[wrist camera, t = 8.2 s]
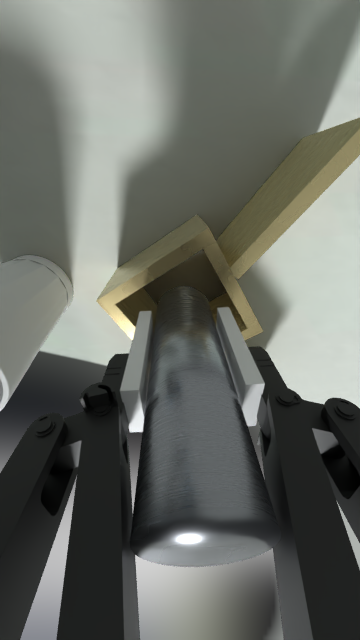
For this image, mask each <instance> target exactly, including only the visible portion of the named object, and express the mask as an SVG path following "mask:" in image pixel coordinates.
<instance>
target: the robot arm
mask: <svg viewBox="0 0 360 640" xmlns="http://www.w3.org/2000/svg"><path fill="white" fill-rule="evenodd" d="M216 328H217V331H218V334H219V337H220V340H221V344H222V347H223V350H224V353H225V356H226V360H227V363H228V366H229V369H230V372H231V375H232V379H233V382H234V385H235V388H236V391H237V395H238V398H239V401H240V404H241V407H242V410H243V414H244V417H245V420H246V423H247V426H255V425H256V421H257V419H258V421H259V424H260V427H261V428H260V432H259V436H258V440H257V445H260V444H261V452H262V461H263V469H264V477H265V484H266V487H267V490H268V493H269V496H270V499H271V503H272V506H273V509H274V512H275V515H276V519H277V522H278V525H279V528H280V531H281V538H280V541H279V542H278V543H277V544H276V545H275V546H274V547H273V552H274V561H275V569H276V578H277V586H278V594H279V602H280V611H281V619H282V628H283V636H284V640H360V570H359V567H358V564H357V561H356V558H355V555H354V552H353V549H352V546H351V543H350V540H349V537H348V534H347V531H346V528H345V525H344V522H343V519H342V516H341V513H340V510H339V507H338V504H339V506H340V507H341V509H342V511H343V513H344V515H345V517H346V518H347V520H348V522H349V524H350V526H351V528H352V530H353V531H354V533H355V535H356V537H357V539H358V541H359V542H360V409H359V408H358V407H357V406H356V405H355V404H353V403H351V402H349V401H347V400H344V399H341V398H331V399H328V400H327V401H326V402H325V404H319V403H314V402H309V401H306V400H303V399H301V397H300V396H299V395H298V394H297V393H296V392H294V391H292V390H291V389H288V388H287V386H286V384H285V383H284V381H283V379H282V377H281V376H280V374H279V372H278V370H277V369H276V367H275V366H274V363H273V362H272V361H271V358H270V356H269V355H268V353H267V352H266V351H265V350H264V349H262V348H261V347H247V345H246V342H245V340H244V338H243V336H242V334H241V332H240V330H239V328H238V325H237V323H236V321H235V319H234V317H233V315H232V313H231V310H230V308H229V307H222V308H217V322H216ZM153 339H154V329H153V320H152V311H140V312H139V316H138V320H137V324H136V328H135V332H134V336H133V340H132V344H131V348H130V352H129V354H115V355H114V356H113V357H112V358H111V360H110V361H109V363H108V366H107V369H106V372H105V376H104V378H103V380H102V382H101V383H96V384H94V385H91V386H89V387H88V388H86V389H85V390H84V391H83V393H82V394H81V396H80V401H81V404H82V406H83V409H84V411H83V412H81V413H79V414H76V415H73V416H70V417H67V418H63V416H61V415H60V414H58V413H50V414H46V415H44V416H41V417H39V418H38V419H37V420H35V421H34V422H33V423H32V424H31V425H30V427H29V428H28V429H27V431H26V432H25V434H24V436H23V437H22V439H21V440H20V442H19V444H18V445H17V447H16V449H15V450H14V452H13V454H12V455H11V457H10V458H9V460H8V462H7V463H6V465H5V467H4V468H3V470H2V471H1V473H0V640H20V638H21V635H22V632H23V629H24V626H25V623H26V620H27V617H28V614H29V612H30V609H31V606H32V603H33V600H34V597H35V594H36V592H37V588H38V586H39V583H40V580H41V577H42V574H43V571H44V568H45V566H46V563H47V560H48V557H49V554H50V551H51V548H52V545H53V542H54V540H55V537H56V533H57V531H58V528H59V525H60V522H61V519H62V516H63V514H64V511H65V507H66V505H67V502H68V499H69V496H70V493H71V490H72V488H73V485H74V482H75V479H76V476H77V480H76V488H75V496H74V504H73V505H74V506H73V512H72V520H71V529H70V536H69V544H68V552H67V560H66V568H65V577H64V585H63V592H62V600H61V608H60V617H59V624H58V632H57V640H140V631H139V614H138V598H137V581H136V565H135V554H134V553H133V552H132V551H131V549H130V536H131V528H132V519H133V513H132V497H131V479H130V462H129V446H128V439H127V432H128V426H129V430H130V432H143V425H144V416H145V408H146V399H147V390H148V382H149V373H150V365H151V356H152V347H153ZM336 500H337V501H336ZM337 502H338V504H337Z"/></svg>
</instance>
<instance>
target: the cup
mask: <svg viewBox="0 0 360 640" xmlns="http://www.w3.org/2000/svg"><path fill="white" fill-rule="evenodd" d="M72 300H73V288H72V284H71V282H70V280H69V278H68V276H67V275H66V274H65V272H64V271H63V270H62V269H61V268H60V267H59V266H57V265H56V264H55V263H53V262H51V261H50V260H48V259H45V258H43V257H40V256H35V255H24V256H20V257H17V258H15V259H13V260H11V261H8V262H5V263H2V264H0V411H1V410H2V409H3V408H4V406H5V405H6V403H7V402H8V400H9V398H10V397H11V395H12V394H13V392H14V390H15V389H16V387H17V386H18V384H19V382H20V381H21V379H22V378H23V376H24V374H25V372H26V371H27V370H28V368H29V366H30V364H31V362H32V361H33V359H34V358H35V356H36V354H37V353H38V351H39V350H40V348H41V347H42V345H43V344H44V342H45V341H46V339H47V338H48V336H49V334H50V333H51V331H52V330H53V328H54V327H55V325H56V324H57V322H58V321H59V319H60V318H61V316H62V314H63V313H64V312H65V311H66V310H67V308H68V307H69V306H70V304H71V302H72Z"/></svg>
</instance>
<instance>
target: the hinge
mask: <svg viewBox="0 0 360 640" xmlns="http://www.w3.org/2000/svg"><path fill="white" fill-rule="evenodd" d="M359 155H360V118H357V119H354V120H352V121H349V122H346V123H343V124H340V125H338V126H335V127H332V128H329V129H326V130H324V131H321V132H318V133H315V134H312V135H310V136H307V137H304V138H302V139H301V141H300V142H299V143H298V144H297V145H296V147H295V148H294V149H293V150H292V151H291V152H290V154H289V155H288V156H287V157H286V158H285V160H284V161H283V162H282V163H281V164H280V165H279V167H278V168H277V169H276V170H275V171H274V172H273V174H272V175H271V176H270V177H269V178H268V180H267V181H266V182H265V183H264V184H263V185H262V187H261V188H260V189H259V190H258V191H257V193H256V194H255V195H254V196H253V197H252V198H251V200H250V201H249V202H248V203H247V204H246V205H245V207H244V208H243V209H242V210H241V211H240V213H239V214H238V215H237V216H236V217H235V218H234V220H233V221H232V222H231V223H230V224H229V226H228V227H227V228H226V229H225V230H224V231H223V233H222V234H221V235H220V236H219V237H218V239H217V240H215V238H214V236H213V234H212V232H211V231H210V229H209V227H208V226H207V225H206V224H205V223H204V221H203V220H202V219H201V218H200V217H199V216H198V215H196V216H194V217H193V218H191V219H190V220H188V221H187V222H185V223H184V224H182V225H181V226H179V227H178V228H176V229H175V230H173V231H172V232H170V233H169V234H168V235H166V236H165V237H163V238H162V239H160V240H159V241H157V242H156V243H154V244H153V245H151V246H150V247H148V248H147V249H145V250H144V251H142V252H141V253H139V254H138V255H136V256H135V257H133V258H132V259H131V260H129V261H128V262H126V263H125V264H123V265H122V266H120V267H119V268H117V270H116V271H115V273H114V274H113V276H112V277H111V279H110V280H109V282H108V283H107V285H106V287H105V288H104V290H103V291H102V293H101V294H100V296H99V297H98V299H97V300H96V301H97V302H98V303H99V305H100V306H101V307H102V308H103V309H104V310H105V311H106V312H107V313H108V314H109V315H110V316H111V318H112V319H113V320H114V321H115V322H116V323H117V324H118V325H119V326H120V327H121V328H122V330H123V331H124V332H125V333H126V334H127V335H128V336H129V337H130V338H131V339H132V340H133V336H134V332H135V328H136V324H137V320H138V316H139V312H140V311H152V320H153V329H154V330H155V322H156V313H157V305H156V304H155V302H154V301H153V300H152V298H151V297H150V296H149V294H148V293H147V292H146V291H145V289H144V288H143V286H145V285H147V284H148V283H150V282H151V281H153V280H155V279H156V278H158V277H159V276H161V275H163V274H164V273H166V272H167V271H169V270H171V269H172V268H174V267H175V266H177V265H179V264H180V263H182V262H183V261H185V260H187V259H188V258H190V257H191V256H193V255H194V254H196V253H198V252H199V251H201V250H202V249H203V250H204V252H205V254H206V255H207V257H208V259H209V261H210V262H211V264H212V266H213V268H214V270H215V271H216V273H217V275H218V277H219V278H220V280H221V282H222V284H223V285H224V287H225V289H226V291H227V292H226V293H224V294H222V295H221V296H219V297H217V298H215V299H213V300H212V301H210V302H209V306H210V309H211V312H212V315H213V318H214V321H215V325H216V322H217V308H222V307H229V308H230V310H231V313H232V315H233V317H234V319H235V321H236V323H237V325H238V328H239V330H240V332H241V334H242V336H243V338H244V340H247V339H249V338H251V337H253V336H255V335H257V334H259V333H262V332H263V330H262V328H261V326H260V324H259V322H258V320H257V318H256V317H255V315H254V313H253V311H252V309H251V307H250V305H249V303H248V301H247V299H246V297H245V296H244V294H243V292H242V290H241V288H240V286H239V284H238V282H237V280H236V278H237V279H239V278H240V277H241V276H242V275H243V274H244V273H245V272H246V271H247V270H248V269H249V268H250V267H251V266H252V265H253V264H254V263H255V262H256V261H257V260H258V259H259V258H260V257H261V256H262V255H263V254H264V253H265V252H266V251H267V250H268V249H269V248H270V247H271V246H272V244H273V243H274V242H275V241H276V240H277V239H278V238H279V237H280V236H281V235H282V234H283V233H284V232H285V231H286V230H287V229H288V228H289V227H290V226H291V225H292V224H293V223H294V222H295V221H296V220H297V219H298V218H299V217H300V216H301V215H302V214H303V213H304V212H305V211H306V210H307V209H308V208H309V207H310V205H311V204H312V203H313V202H314V201H315V200H316V199H317V198H318V197H319V196H320V195H321V194H322V193H323V192H324V191H325V190H326V189H327V188H328V187H329V186H330V185H331V184H332V183H333V182H334V181H335V180H336V179H337V178H338V177H339V176H340V175H341V174H342V173H343V172H344V171H345V170H346V169H347V168H348V166H349V165H350V164H351V163H352V162H353V161H354V160H355V159H356V158H357V157H358V156H359ZM235 277H236V278H235Z"/></svg>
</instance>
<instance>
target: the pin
mask: <svg viewBox="0 0 360 640" xmlns="http://www.w3.org/2000/svg"><path fill="white" fill-rule="evenodd" d="M280 538H281V531H280V528H279V525H278V522H277V519H276V515H275V512H274V509H273V506H272V503H271V499H270V496H269V493H268V490H267V487H266V484H265V480H264V477H263V474H262V471H261V468H260V465H259V461H258V459H257V455H256V452H255V449H254V445H253V443H252V439H251V436H250V433H249V430H248V426H247V423H246V420H245V417H244V414H243V410H242V407H241V404H240V401H239V398H238V395H237V391H236V388H235V385H234V382H233V379H232V375H231V372H230V369H229V366H228V363H227V360H226V356H225V353H224V350H223V347H222V344H221V340H220V337H219V334H218V331H217V328H216V325H215V321H214V318H213V315H212V312H211V309H210V306H209V302H208V300H207V298H206V297H205V295H204V294H203V293H202V292H200V291H199V290H197V289H195V288H192V287H187V286H181V287H176V288H173V289H171V290H169V291H167V292H166V293H165V294H164V295H163V296H162V297H161V298H160V300H159V302H158V305H157V313H156V322H155V330H154V339H153V347H152V356H151V365H150V373H149V382H148V390H147V399H146V408H145V416H144V425H143V434H142V443H141V450H140V459H139V468H138V476H137V485H136V494H135V502H134V511H133V519H132V528H131V536H130V549H131V551H132V552H133V553H134V554H135V555H137V556H138V557H140V558H142V559H144V560H147V561H150V562H154V563H157V564H162V565H170V566H180V567H204V566H215V565H223V564H229V563H234V562H239V561H243V560H246V559H250V558H253V557H256V556H258V555H261V554H263V553H265V552H267V551H269V550H270V549H271V548H273V547H274V546H275V545H276V544H277V543H278V542H279V541H280Z"/></svg>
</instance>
